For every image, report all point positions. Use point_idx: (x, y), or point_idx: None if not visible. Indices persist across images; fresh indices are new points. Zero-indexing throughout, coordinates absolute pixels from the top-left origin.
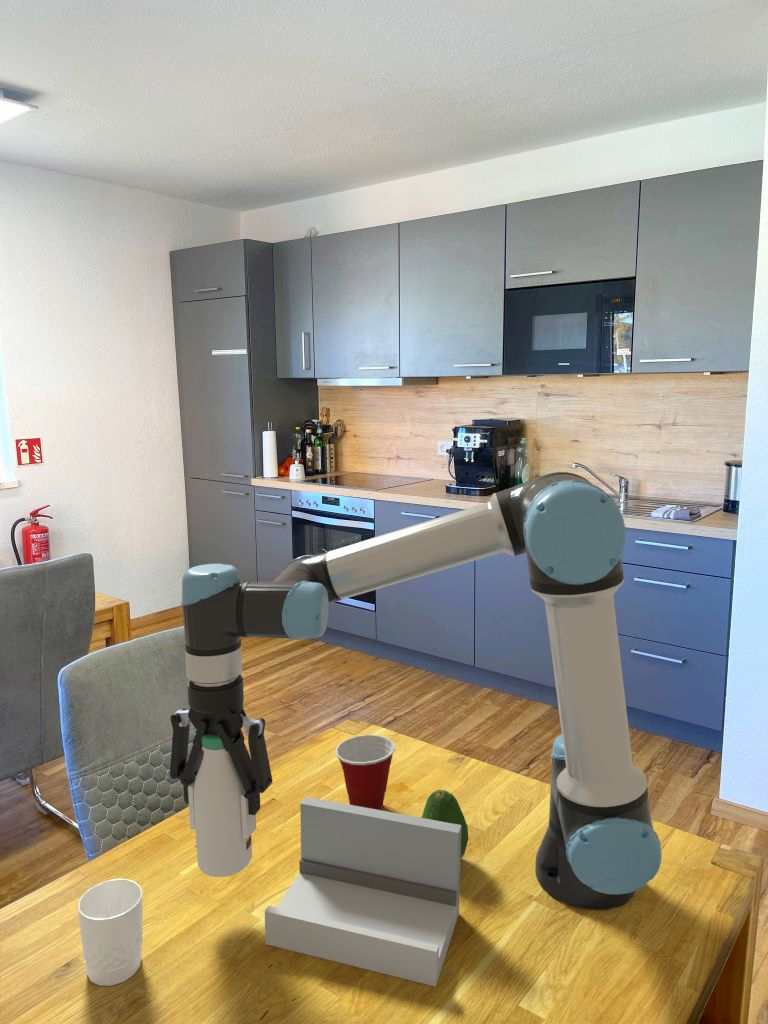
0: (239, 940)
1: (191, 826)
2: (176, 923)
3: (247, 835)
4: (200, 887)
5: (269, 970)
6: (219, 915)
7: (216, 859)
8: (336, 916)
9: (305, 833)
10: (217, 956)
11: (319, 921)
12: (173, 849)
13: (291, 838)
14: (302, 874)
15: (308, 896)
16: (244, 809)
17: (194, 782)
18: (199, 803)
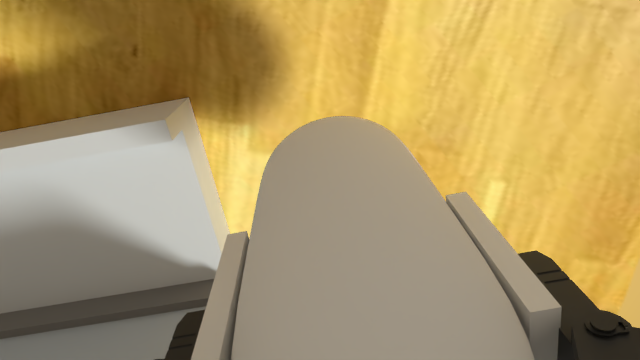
0: (245, 79)
1: (463, 196)
2: (407, 52)
3: (225, 243)
4: (431, 167)
5: (126, 38)
6: None
7: (307, 139)
8: (61, 204)
9: None
10: (253, 15)
11: (26, 153)
12: (564, 232)
13: None
14: None
15: (158, 226)
16: (212, 312)
17: (547, 349)
18: (413, 234)
